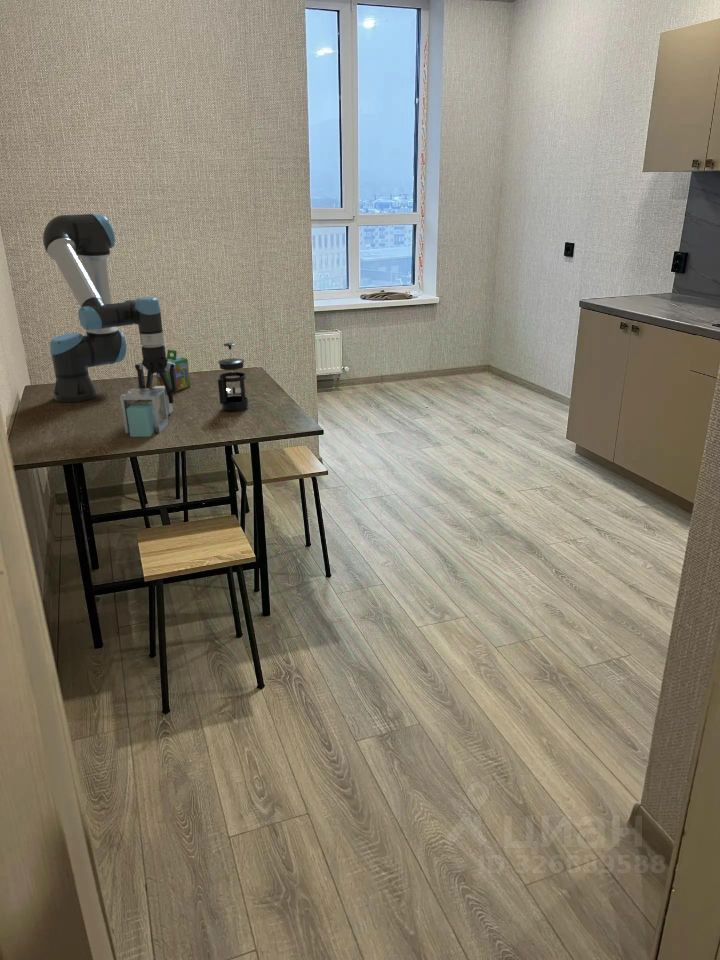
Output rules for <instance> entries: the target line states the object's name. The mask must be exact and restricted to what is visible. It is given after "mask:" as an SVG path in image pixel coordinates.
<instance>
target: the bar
mask: <svg viewBox="0 0 720 960" xmlns="http://www.w3.org/2000/svg"><path fill="white" fill-rule="evenodd" d="M153 388H164V391H165V395H166V394H167V391H166V389H165V386H158V385H155V386H153ZM165 399H166V396H165ZM156 403H157V411H158V419H159V423H160V422H161V421H162V420H163V419H164V415H163V407H162V399H161V395H160V396H159V397H157V398H156ZM134 404H152V400H136V402H134ZM171 406H172V407H173V403H171ZM166 407H167V404H166ZM152 410H153V405H152ZM173 411H174V409H173V408H172V412H173ZM170 414H171V413H168V412H167V415H168V416H170ZM153 418H154V413H153ZM154 425H155V420H154Z"/></svg>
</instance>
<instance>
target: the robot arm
mask: <svg viewBox="0 0 720 960" xmlns="http://www.w3.org/2000/svg"><path fill="white" fill-rule="evenodd" d="M42 243H43V246H44V250H45V252H46V253H47V255H48V257H49V258H50V259H52V260H53V261H54V262H55V263H56V265H57V267H58V269H59V271H60V272H61V274H62V276H63V278H64V279H65V282H66V284H67V285H68V288H69V289H70V291H71V292H72V294H73V295H74V298H75V300H76V302H77V303H78V305H79V307H80V308H78V312H77V313H78V321H79V322H80V326H81V327H82V328H83V329H84V330H85V334H86V335H83V334H82V333H81V332H72V333H69V332H68V333H64V334H60V335H57V336H55V337H53V338H52V339H51V340H50V342H49V348H50V355H51V359H52V364H53V365H52V366H53V370H54V377H55V382H54V383H55V384H54V390H53V398H54V401H55V402H59V403H78V402H84V401H88V400H93V399H94V398H96V397H97V396H98V393H97V388H96V386H95V384H94V382H93V381H92V379H91V377H90V372H89V368H93V367H98V366H105V365H113V364H115V363H116V364H117V363H120V362H122V361H123V360H124V359H125V357H126V354H127V340H126V338H125V335H124V333H123V332H122V331H120V330H119V327H124V326H131V325H137V326H138V333H139V339H140V345H141V355H142V362H138V363H136V364H135V365H134V368H135V370H136V372H137V380H138V381H137V382H138V387H139V388H153V379H154V375H155V374H156V373H159V375H160V376H161V378H162V381H163V384H164V386H165V389H166V391H167V394H166V395H165V396H166V404H167V412H168V413H170V414H171V413H172V412H173V411H172V409H173V405H172V406H171V403H172V404H173V403H174V394H175V393H176V392H177V390H178V388H177V380H176V373H175V368H176V363H170V362H168V360H167V359H166V358H167V354H166V347H165V345H164V344H165V337H164V331H163V323H162V314H161V313H162V312H161V306H160V302H159V299H158V298H157V297H155V296H144V297H143V296H141V297H137V298H136V299H131V300H130V299H129V300H128V299H127V300H125V301H123V302H115V303H112V297H111V287H110V280H109V271H108V263H107V262H108V261H107V259H108V257H110V256H111V249H112V248H114V247H115V243H116V236H115V232H114V229H113V226H112V224H111V222H110V220H108V218H107V217H106V216H105V215H104V214H98V213H82V214H60V215H57V216H55V217H53V218H52V219H50V220H49V221H48V223H47V224H46V225H45V228H44V230H43V234H42ZM166 366H168V368H169V369H170V378H171V385H170V383H169V380H168V377H167V375H166V371H165V368H166ZM144 368H145V369H146V370H147V372H146V373H147V374H146V375H147V376H146V381H145V376H144V375H145V374H144ZM145 382H146V383H145ZM171 386H172V388H171ZM178 391H179V390H178Z"/></svg>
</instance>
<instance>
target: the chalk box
mask: <svg viewBox="0 0 720 960" xmlns="http://www.w3.org/2000/svg"><path fill="white" fill-rule="evenodd" d="M171 354H173V355H172V356H171ZM166 359H167V360H168V362H170V363H176V368H175V373H176V380H177V388H178V390H177V391H180V390H184V389H186V388H190V387H191V381H190V370H189V360H188V358H186V357H181V356H177V350H171V349H167V354H166ZM165 371H166V375H167V377H168V380H169V383H170V385H171V378H170V369H169V368H168V366H166V368H165ZM155 375H156V383H157V385H156V386H164V384H163V381H162V378H161V376H160V375H159V373H155ZM171 388H172V386H171ZM177 391H176V392H177Z"/></svg>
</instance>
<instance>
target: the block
mask: <svg viewBox="0 0 720 960" xmlns="http://www.w3.org/2000/svg"><path fill="white" fill-rule="evenodd" d="M126 410H127V417H128V423H129V430H130V432H129V435H130V437H132V438H133V437H138V438H139V437H143V438H144V437H147V438H148V437H150V436H152V435H153V433H154V432H156V427H155V425H154V418H153V410H152V404H132V405H131V406H130V407H128V408H127V409H126Z"/></svg>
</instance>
